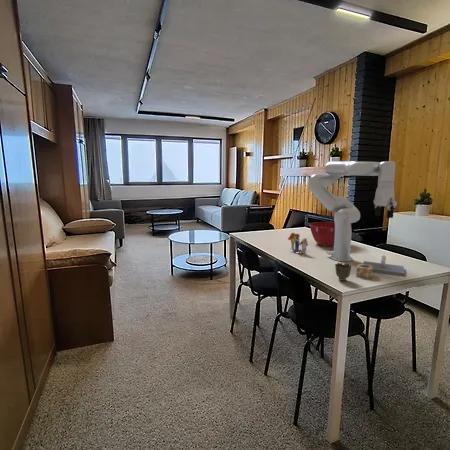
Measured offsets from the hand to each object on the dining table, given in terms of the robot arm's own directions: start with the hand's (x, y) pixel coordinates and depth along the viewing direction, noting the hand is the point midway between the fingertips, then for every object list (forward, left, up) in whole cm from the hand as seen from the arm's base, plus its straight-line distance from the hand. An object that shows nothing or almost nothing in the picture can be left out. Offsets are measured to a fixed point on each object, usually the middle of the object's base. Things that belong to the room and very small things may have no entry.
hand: (383, 216), depth 157 cm
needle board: (+2, -1, -29) cm, 29 cm away
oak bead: (-6, -17, -29) cm, 34 cm away
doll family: (-51, +14, -30) cm, 61 cm away
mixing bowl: (-36, +47, -30) cm, 66 cm away
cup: (-15, -30, -30) cm, 45 cm away
